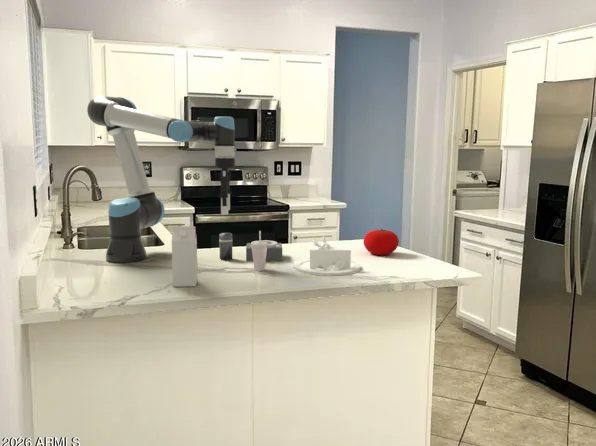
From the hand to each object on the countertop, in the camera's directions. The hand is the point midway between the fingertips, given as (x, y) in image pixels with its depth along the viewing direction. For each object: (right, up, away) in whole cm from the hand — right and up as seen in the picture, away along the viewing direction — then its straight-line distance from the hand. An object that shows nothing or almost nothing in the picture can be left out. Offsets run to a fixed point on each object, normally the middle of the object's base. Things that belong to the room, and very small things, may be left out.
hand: (225, 212), depth 217 cm
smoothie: (+14, -21, -15) cm, 29 cm away
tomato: (+62, -17, +14) cm, 66 cm away
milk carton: (-8, -24, -35) cm, 44 cm away
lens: (0, -18, +3) cm, 19 cm away
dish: (+39, -21, -11) cm, 45 cm away
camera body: (+15, -18, +5) cm, 24 cm away
